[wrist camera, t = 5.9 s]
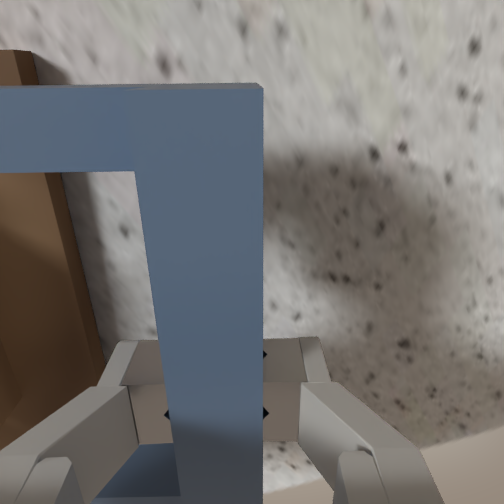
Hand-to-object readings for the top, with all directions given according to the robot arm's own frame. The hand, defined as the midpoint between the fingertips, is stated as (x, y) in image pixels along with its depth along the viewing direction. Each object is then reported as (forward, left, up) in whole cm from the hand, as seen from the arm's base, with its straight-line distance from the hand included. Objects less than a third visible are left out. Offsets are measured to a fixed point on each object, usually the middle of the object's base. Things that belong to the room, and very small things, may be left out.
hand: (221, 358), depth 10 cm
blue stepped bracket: (-2, 0, -2) cm, 3 cm away
